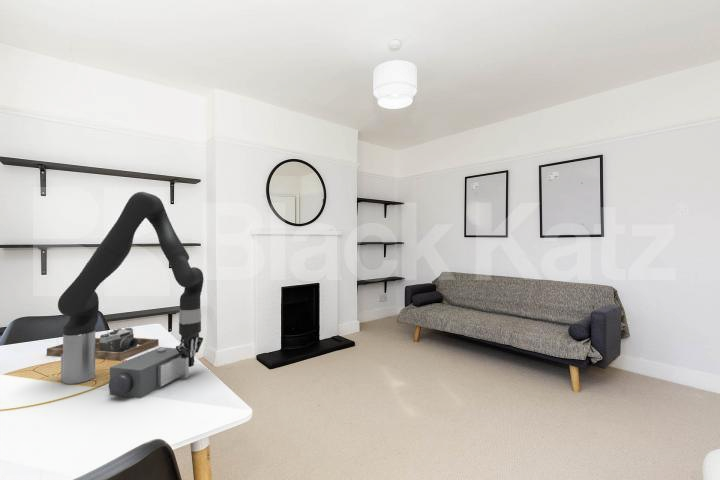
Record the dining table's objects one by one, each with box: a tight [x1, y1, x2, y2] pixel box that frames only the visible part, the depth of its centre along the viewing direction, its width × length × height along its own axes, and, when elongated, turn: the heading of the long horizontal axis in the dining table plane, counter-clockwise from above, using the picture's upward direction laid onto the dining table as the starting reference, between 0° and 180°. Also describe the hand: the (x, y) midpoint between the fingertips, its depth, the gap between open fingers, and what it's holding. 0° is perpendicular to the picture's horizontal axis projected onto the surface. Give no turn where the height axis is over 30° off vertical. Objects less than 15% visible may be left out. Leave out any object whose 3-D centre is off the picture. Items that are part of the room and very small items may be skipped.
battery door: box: [158, 356, 190, 388], centre depth 124 cm, size 4×10×7 cm, turn 168°
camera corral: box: [95, 337, 160, 361], centre depth 159 cm, size 15×21×3 cm
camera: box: [99, 326, 138, 353], centre depth 158 cm, size 16×10×10 cm, turn 168°
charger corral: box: [46, 337, 100, 358], centre depth 160 cm, size 15×18×3 cm
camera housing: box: [108, 346, 182, 399], centre depth 123 cm, size 12×25×10 cm, turn 168°
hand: (190, 366), depth 131 cm, fingers closed
